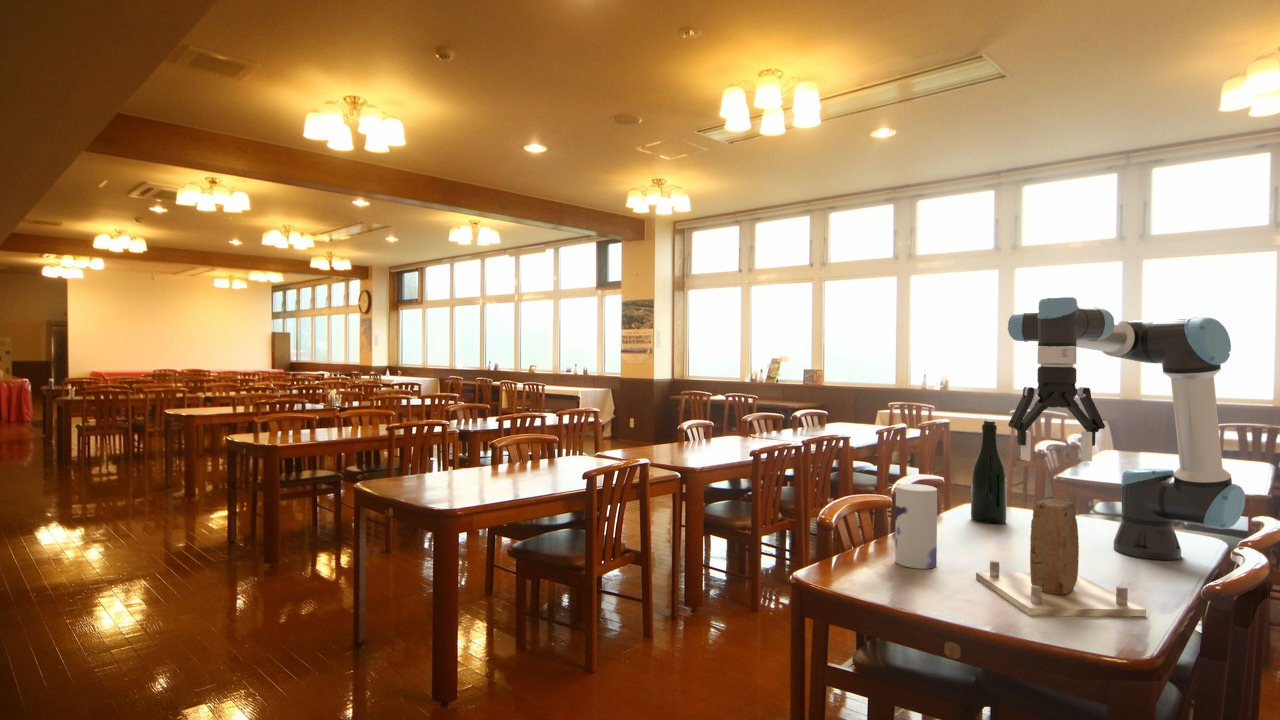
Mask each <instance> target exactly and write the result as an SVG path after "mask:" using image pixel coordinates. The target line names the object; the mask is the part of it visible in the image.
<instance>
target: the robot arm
mask: <svg viewBox="0 0 1280 720" xmlns="http://www.w3.org/2000/svg"><path fill="white" fill-rule="evenodd" d="M1007 322H1008V323H1007V324H1008V325H1007V332H1008V334H1009V337H1011V339H1013V341H1017V342H1025V343H1026V342H1027V343H1028V342H1038V343H1037V364H1038V365H1040V366H1038V367H1037V388H1034V387H1031V386H1030V387H1029V386H1025V387H1023V389H1022V396H1021V399H1020V400H1019V402H1018V404H1017V406H1016V408H1015V410H1014V412H1013V414H1012V416H1011V418H1010V420H1009V421H1008V427H1009V428H1012V429H1014V430H1016V432H1017V435H1016V437H1017V439H1016V440H1017V442H1016V443H1017V445H1018V446H1020V460H1023V461H1026V462H1031V446H1032V445H1031V439H1032V438H1031V437H1032V436H1031V435H1032V434H1031V433H1032V432H1031V431H1029V430H1028V429H1029V428H1030V427H1031V426H1032V425H1033V424H1034V423H1035V421H1037V419H1038V418H1039V417H1040V415H1041V414H1042V413H1043V412H1044V411H1045V410H1047V409H1048V408H1065V409H1067V410H1068V411H1069V412H1070V413H1071V414H1072V415H1073V417H1074V418H1075V419H1076V420H1077V421H1078V423H1079V424H1080V425H1081V426H1082V428H1083V429H1084V430H1081V435H1080V436H1081V437H1080V460H1082V461H1087V462H1093V447H1095V445H1096V433H1099V432H1100V430H1104V429H1105V428H1106V424H1105V422H1104V421H1103V418H1102V417H1101V415H1100V413H1099V411H1098V409H1097V407H1096V406H1097V405H1096V404H1095V402H1094V400H1093V398H1092V394H1091V393H1092V391H1091V388H1090V387H1086V386H1085V387H1079V388H1077V387H1076V383H1077V368H1076V367H1074V365H1076V364H1077V348H1080V349H1088V350H1093V351H1100V352H1102V354H1105V355H1107V356H1109V357H1114V358H1118V359H1119V358H1120V359H1125V360H1129V361H1135V362H1138V363H1139V362H1140V363H1147V364H1161V365H1162V373H1163V374H1165V375H1166V376H1168V377H1169V378H1170V382H1171V391H1172V402H1173V411H1174V421H1175V428H1176V429H1175V431H1176V439H1177V441H1176V443H1177V451H1178V461H1179V468H1177V470H1175V471H1174V470H1173V469H1169V468H1168V469H1167V468H1138V469H1137V468H1134V469H1127V470H1125V471H1124V472H1123V473H1122V476H1121V484H1120V488H1121V516H1120V517H1121V519H1120V524H1119V527H1118V529H1117V532H1116V533H1115V537H1114V538H1113V550H1115V551H1117V552H1119V553H1121V554H1125V555H1128V556H1132V557H1136V558H1142V559H1147V560H1148V559H1149V560H1158V561H1176V560H1180V559H1182V548H1181V545H1180V542H1179V539H1178V537H1177V534H1176V531H1175V530H1174V529H1175V528H1174V521H1176V522H1182V523H1186V524H1191V525H1197V526H1201V527H1205V528H1207V529H1211V528H1212V529H1220V530H1227V529H1230V528H1232V527H1234V526H1235V525H1236V524H1237V523H1238V522H1239V520H1240V518H1241V516H1242V514H1243V512H1244V509H1245V506H1246V505H1245V503H1246V494H1245V491H1244V489H1243V487H1242V486H1240V485H1237V484H1236V483H1233V482H1232V481H1233V480H1232V474H1231V473H1230V472H1229V471H1227V470H1226V469H1225V468H1224V467H1223V459H1222V458H1223V457H1222V449H1221V438H1220V427H1219V418H1218V407H1217V397H1216V396H1217V395H1216V388H1215V387H1216V386H1215V375H1217V374H1218V373H1219V372H1220V371H1221V369H1222V368H1221V367H1222V365H1221V364H1225V363H1226V362H1227V361H1228V360H1229V358H1230V356H1231V354H1230V352H1231V350H1232V343H1231V338H1230V335H1229V333H1228V331H1227V328H1226V327H1225V326H1224V325H1223V324H1222V323H1221V322H1220V321H1219V320H1218V319H1215V318H1212V317H1198V316H1190V317H1187V316H1186V317H1174V318H1173V317H1171V318H1151V319H1150V318H1149V319H1141V320H1131V321H1130V320H1128V321H1123V320H1115V319H1114V316H1113V315H1112V313H1111V312H1109V311H1108V310H1106V309H1105V308H1100V307H1096V306H1095V307H1082V306H1081V307H1079V306H1078V301H1077V298H1076V297H1073V296H1048V297H1043V298H1041V299H1040V300H1039V302H1038V309H1037V310H1024V311H1017V312H1014V313H1012V314H1011V315H1010V317H1009V318H1008V320H1007ZM1036 396H1037V397H1038V399H1037V400H1036V402H1035V403H1034V405H1033V407H1032V408H1031V409H1030V406H1031V404H1032V402H1033V400H1034V398H1035V397H1036ZM1076 396H1077V397H1078V398H1079V400H1080V403H1081V404H1082V407H1083V408H1084V411H1085V412H1086V413H1085V412H1084V411H1083V409H1082V408H1080V406H1079V404H1078V402H1077V401H1076V400H1075V398H1076ZM1029 409H1030V410H1029ZM1028 410H1029V412H1028Z"/></svg>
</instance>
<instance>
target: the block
mask: <svg viewBox="0 0 1280 720" xmlns="http://www.w3.org/2000/svg"><path fill="white" fill-rule="evenodd" d="M1032 513H1033V514H1032V519H1031V521H1030V522H1031V524H1030V525H1031V526H1030V537H1029V538H1030V539H1029V540H1030V544H1029V545H1030V548H1029V549H1030V551H1029V552H1030V553H1029V563H1030V564H1029V569H1030V572H1029V573H1031V584H1032V585H1036V586H1040V587H1042V592H1045V593H1050V594H1055V595H1067V594H1070V593H1071V592H1072V591H1073V589H1074V587H1075V583H1076V581H1077V576H1078V575H1079V556H1080V555H1079V554H1080V553H1079V552H1080V551H1079V549H1080V546H1079V545H1080V544H1079V530H1078V528H1079V526H1078V522H1077V521H1078V520H1077V516H1076V508H1075V504H1074V503H1073V502H1072V501H1069V500H1065V499H1064V500H1063V499H1053V498H1046V499H1041V500H1039V501H1037V502H1036V503H1035V504H1034V505H1033V506H1032Z"/></svg>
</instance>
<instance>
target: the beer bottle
mask: <svg viewBox="0 0 1280 720" xmlns="http://www.w3.org/2000/svg"><path fill="white" fill-rule="evenodd" d="M981 430H982V431H981V444H980V445H981V446H980V449H979V453H978V455H977V457H976V460H975V462H974V464H973V468H972V473H971V474H972V475H971V489H970V490H971V492H970V493H971V494H970V495H971V497H970V518H971V520H973V521H974V522H977V523H982V524H989V525H999V524H1000V525H1001V524H1002V525H1003V524H1005V523H1006V522H1007V479H1006V478H1007V475H1006V474H1007V472H1006V469H1005V465H1004V464H1003V461H1002V458H1001V455H1000V453H999V452H1000V451H999V449H998V440H997V438H998V437H997V431H998V427H997V425H996V421H995V420H983V423H982V425H981Z"/></svg>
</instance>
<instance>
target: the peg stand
mask: <svg viewBox="0 0 1280 720" xmlns="http://www.w3.org/2000/svg"><path fill="white" fill-rule="evenodd" d="M975 579H976V580H977V581H978V582H980V583H982V584H983V585H984V586H986V587H988V588H989V589H991V590H992V591H993V592H995V593H997V595H998V596H1001V597H1002V598H1004V599H1005V600H1007V601H1008V602H1009V603H1011V604H1012V605H1014V606H1015V607H1017V608H1018V609H1020V610H1021V611H1023V612H1024V613H1026V614H1027V615H1028V616H1036V617H1037V616H1046V617H1048V616H1049V617H1050V616H1051V617H1055V616H1057V617H1059V616H1060V617H1063V616H1065V617H1131V616H1146V617H1147V608H1144V607H1143V606H1141V605H1138V604H1136V603H1134V602H1132V601H1131V600H1128V598H1129V597H1128V595H1129V594H1128V592H1129V591H1128V587H1126V586H1121V585H1119V586H1117V585H1116V586H1115V588H1116V589H1115V592H1116V593H1115V592H1113V591H1111V590H1109V589H1107V588H1105V587H1103V586H1101V585H1099V584H1097V583H1095V582H1093V581H1091V580H1089V579H1088V578H1085V577H1084V576H1081V575H1080V574H1078V576H1077V581H1076V583H1075V587H1074V589H1073V591H1072V592H1071V593H1070V594H1067V595H1055V594H1050V593H1045V592H1042V587H1040V586H1036V585H1032V584H1031V573H1030V572H1000V561H997V560H990V561H989V572H978V571H977V572H975Z"/></svg>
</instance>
